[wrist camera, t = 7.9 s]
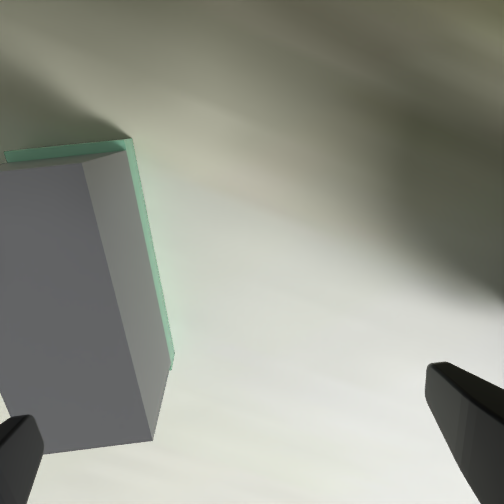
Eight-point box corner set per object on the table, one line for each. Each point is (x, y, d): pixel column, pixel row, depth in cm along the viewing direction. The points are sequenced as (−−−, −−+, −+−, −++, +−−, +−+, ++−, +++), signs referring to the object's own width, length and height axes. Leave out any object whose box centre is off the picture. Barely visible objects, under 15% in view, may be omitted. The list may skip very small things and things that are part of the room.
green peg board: (131, 138, 17) (102, 143, 13) (174, 353, 21) (163, 411, 17) (22, 149, 16) (-46, 158, 12) (87, 364, 21) (53, 427, 16)
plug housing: (126, 150, 15) (81, 162, 11) (171, 362, 19) (152, 440, 14) (7, 162, 15) (-90, 180, 11) (76, 374, 19) (27, 456, 14)
